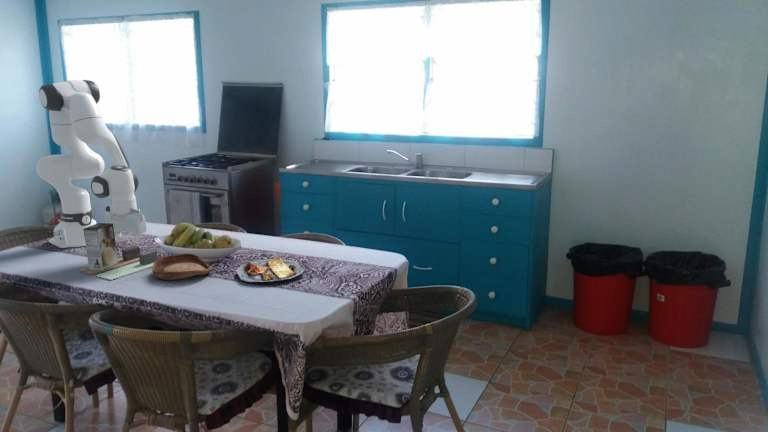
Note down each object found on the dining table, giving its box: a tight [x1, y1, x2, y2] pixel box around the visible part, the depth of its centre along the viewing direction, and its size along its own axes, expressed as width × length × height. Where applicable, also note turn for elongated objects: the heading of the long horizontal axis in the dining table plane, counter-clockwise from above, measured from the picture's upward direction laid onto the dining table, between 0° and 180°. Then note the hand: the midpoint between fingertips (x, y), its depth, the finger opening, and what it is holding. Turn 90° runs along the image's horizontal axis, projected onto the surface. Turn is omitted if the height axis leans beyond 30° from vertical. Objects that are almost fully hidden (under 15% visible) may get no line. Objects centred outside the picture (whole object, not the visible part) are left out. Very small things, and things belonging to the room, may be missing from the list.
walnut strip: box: [78, 245, 141, 276], centre depth 234 cm, size 9×22×4 cm, turn 148°
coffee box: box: [83, 222, 119, 271], centre depth 230 cm, size 9×6×16 cm
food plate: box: [235, 256, 305, 283], centre depth 222 cm, size 25×23×4 cm
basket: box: [152, 252, 213, 281], centre depth 223 cm, size 22×20×5 cm
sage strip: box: [95, 249, 158, 281], centre depth 228 cm, size 9×22×4 cm, turn 148°
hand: (128, 242), depth 239 cm, fingers open, 8 cm apart
